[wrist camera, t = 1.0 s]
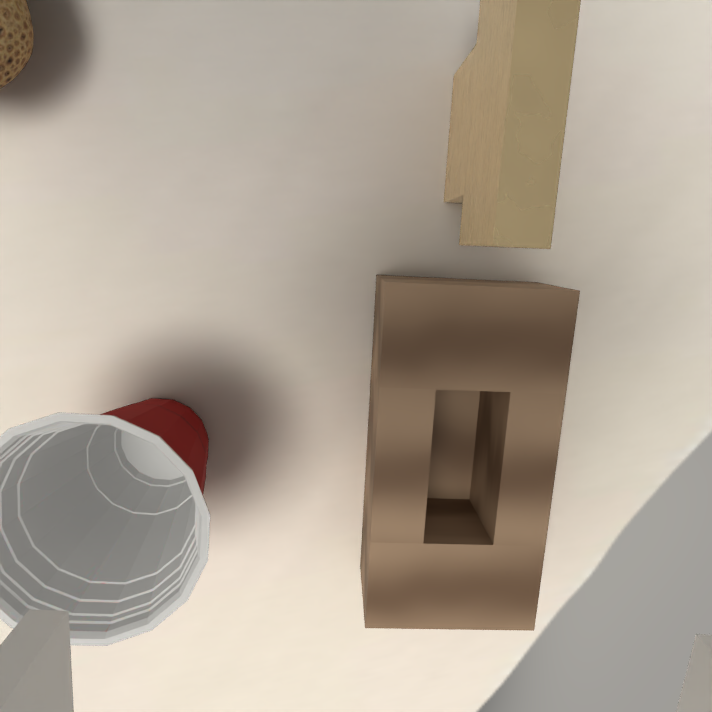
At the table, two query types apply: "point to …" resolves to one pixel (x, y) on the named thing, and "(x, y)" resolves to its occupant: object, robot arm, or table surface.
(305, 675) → the table surface
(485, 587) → the slotted block
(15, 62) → the natural sponge
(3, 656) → the robot arm
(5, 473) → the plastic cup
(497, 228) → the light wooden block
